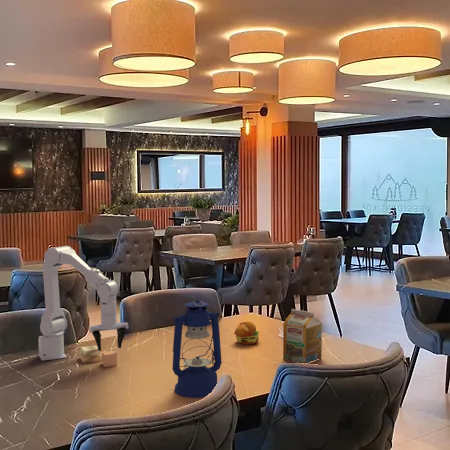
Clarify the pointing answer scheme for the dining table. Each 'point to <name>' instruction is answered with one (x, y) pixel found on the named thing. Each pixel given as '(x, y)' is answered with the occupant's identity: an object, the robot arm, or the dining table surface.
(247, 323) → the cheeseburger
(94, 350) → the top block
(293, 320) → the milk carton
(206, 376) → the lantern
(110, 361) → the cube
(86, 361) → the bottom block
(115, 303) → the robot arm
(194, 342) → the dining table surface
